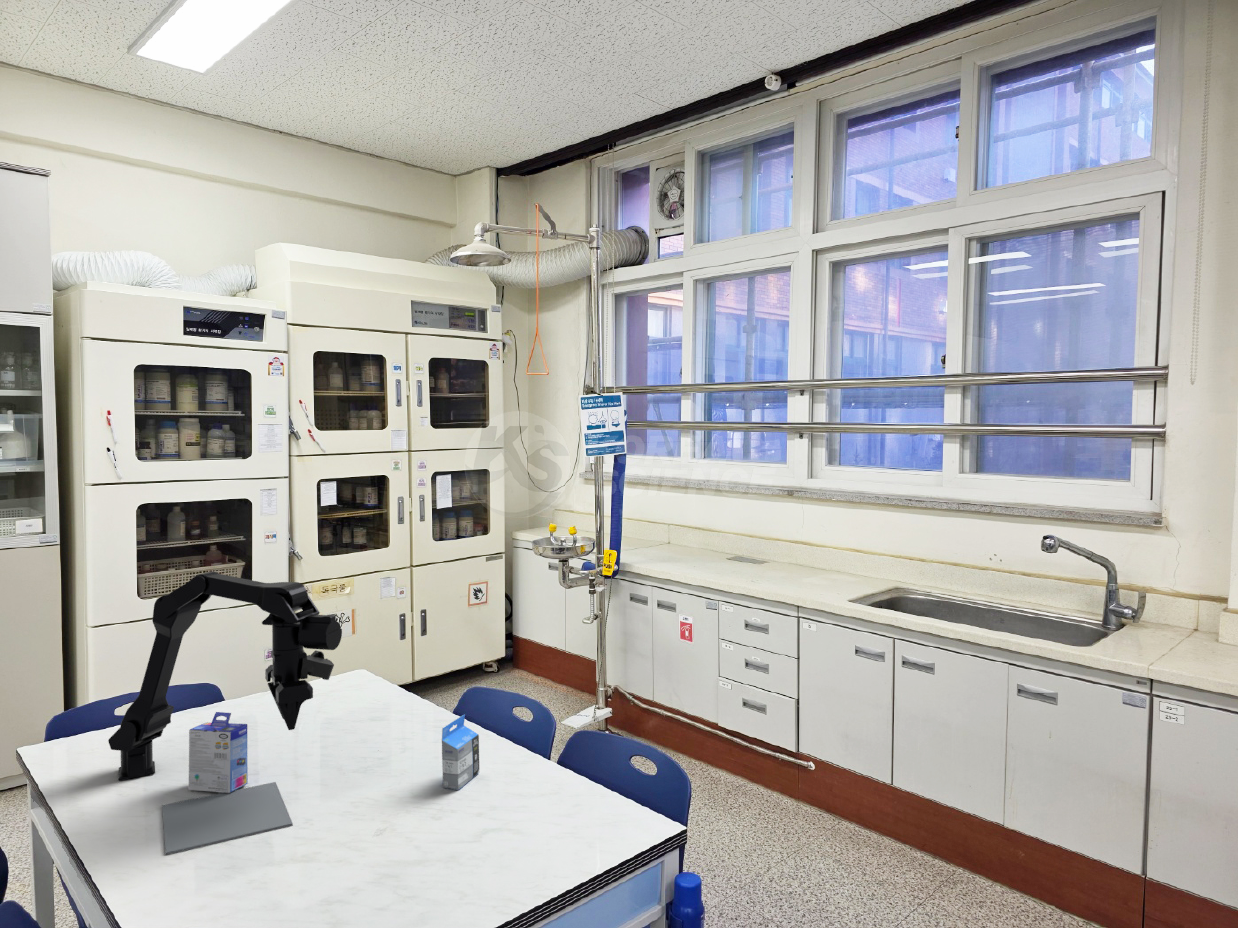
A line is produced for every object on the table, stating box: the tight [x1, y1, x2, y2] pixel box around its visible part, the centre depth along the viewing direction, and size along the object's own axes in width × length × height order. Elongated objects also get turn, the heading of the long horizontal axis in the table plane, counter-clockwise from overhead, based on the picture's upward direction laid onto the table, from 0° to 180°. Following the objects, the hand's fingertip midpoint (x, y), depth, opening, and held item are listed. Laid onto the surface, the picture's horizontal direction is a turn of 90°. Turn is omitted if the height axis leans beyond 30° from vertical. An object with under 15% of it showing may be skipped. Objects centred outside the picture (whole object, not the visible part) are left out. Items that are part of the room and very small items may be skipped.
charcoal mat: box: [161, 781, 293, 856], centre depth 147 cm, size 20×20×1 cm
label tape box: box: [441, 713, 480, 791], centre depth 163 cm, size 9×4×12 cm, turn 161°
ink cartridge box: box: [188, 711, 249, 793], centre depth 158 cm, size 10×6×14 cm, turn 79°
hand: (288, 723), depth 158 cm, fingers open, 7 cm apart
